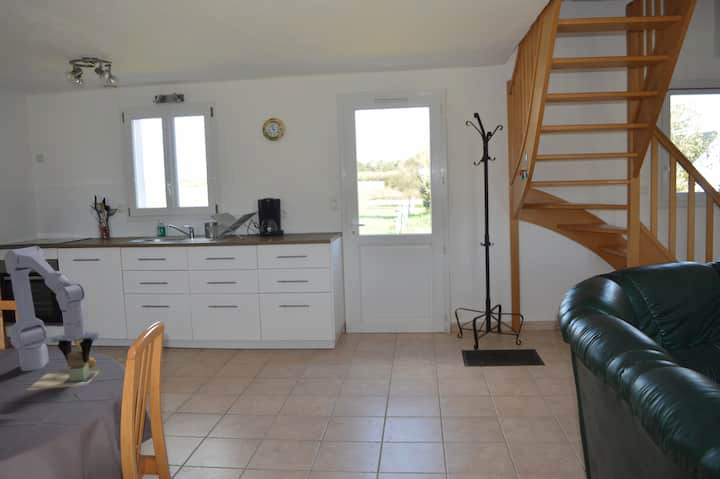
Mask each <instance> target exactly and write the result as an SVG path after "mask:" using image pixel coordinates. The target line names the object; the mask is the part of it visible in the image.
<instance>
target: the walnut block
mask: <svg viewBox="0 0 720 479" xmlns="http://www.w3.org/2000/svg"><path fill="white" fill-rule="evenodd" d="M67 361H68V363H67V367H68V368H71V367H74V366H83V365H84V364H85V363H86V362H84V360H83V352H82V350H80V349H76V350H75V349H74V350H71V352H70V353H69V354H68V355H67V360H66V362H67ZM87 362H88V361H87Z"/></svg>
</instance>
